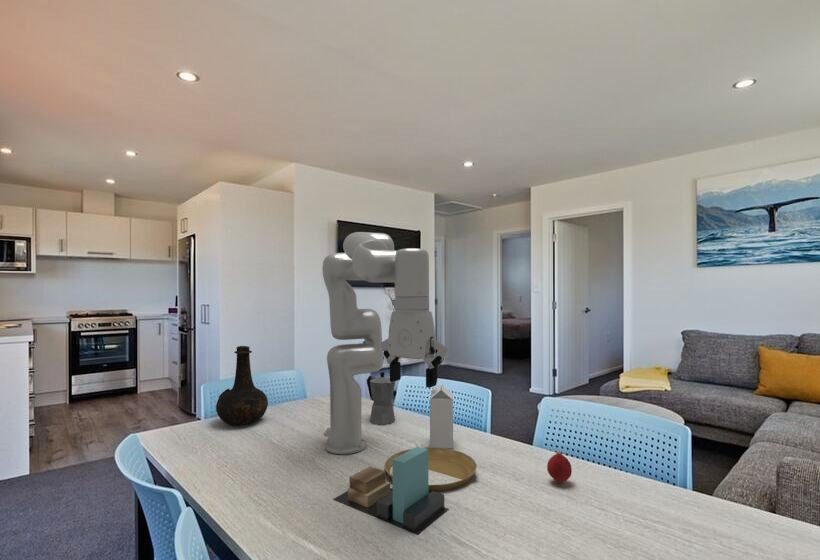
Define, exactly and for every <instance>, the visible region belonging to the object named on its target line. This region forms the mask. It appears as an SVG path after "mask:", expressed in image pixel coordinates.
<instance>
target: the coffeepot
mask: <svg viewBox="0 0 820 560" xmlns="http://www.w3.org/2000/svg"><path fill="white" fill-rule="evenodd" d="M379 375H380V376H379V377H378V376H373V375H369V376H368V377H367V379H366V384H367V388H368V394H369V398H371V399H373V402H372V406H371V412H370V416H369V417H370V419H369V421H370V423H371V424H372V425H376V424H377V425H376V426H387V424H388V425H391V424H393V423H394V422H395V421H396V418H395V417H396V416H395V411H394V406H393V403H392V399H393V398H394V392H395V386H396V381H394V382H390V377H386V376H385V372H383V371H381V372H380V373H379Z"/></svg>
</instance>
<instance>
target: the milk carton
mask: <svg viewBox="0 0 820 560" xmlns="http://www.w3.org/2000/svg"><path fill="white" fill-rule="evenodd" d="M430 392H431V393H430V395H429V396H430V397H429V447H438V448H446V449H454V401H453V400H454V394H453V393H452V391H450V390H449V389H447V388H446V387H445V385H443V381H441V382H440V385H439V386H438V387H436V386H433V388H432V389H431V390H430Z"/></svg>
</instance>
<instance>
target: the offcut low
mask: <svg viewBox="0 0 820 560" xmlns="http://www.w3.org/2000/svg"><path fill="white" fill-rule="evenodd" d="M390 488H391V482H390V481H387V480H386V482H385V483H384V484H382V485H380V486H378V487H377V488H375V489H373V490H372V491H370V492H368V493H367V494H365V493H362V492H359V491H357V490H354V489H352V488H350V487H348V488H347V491H348V500H350V501H353V502H355V503H358V504H360V505H363V506H365V507H369V506H371V505H372V504H374V503H376V502H377V501H379V500H380V499H382V498H384V497H385V496H387V495H388V494H390Z"/></svg>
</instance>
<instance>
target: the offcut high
mask: <svg viewBox="0 0 820 560" xmlns="http://www.w3.org/2000/svg"><path fill="white" fill-rule="evenodd" d="M386 475H387V472H386V470H382V469H380V468H376V467H373V466H368V467H366V468H364V469H362V470H361V471H359V472H356V473H354V474H352V475H351V476H349V488H352V489H354V490H357V491H359V492H362V493H365V494H367V493H368V492H370V491H372V490H373V489H375V488H377V487H378V486H380V485H382V484H384V483H385V482H386V481H387V479H386V477H387V476H386Z"/></svg>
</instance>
